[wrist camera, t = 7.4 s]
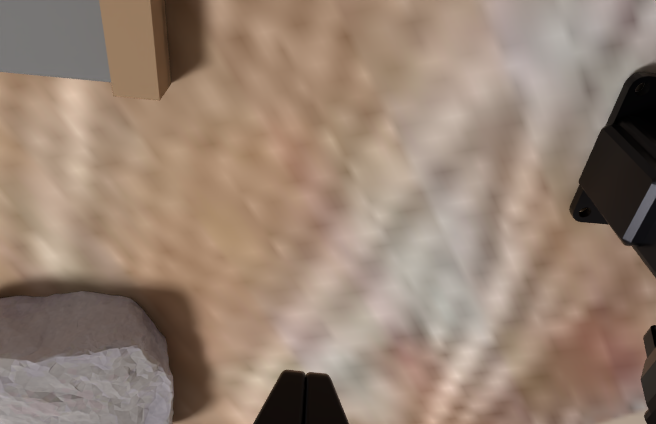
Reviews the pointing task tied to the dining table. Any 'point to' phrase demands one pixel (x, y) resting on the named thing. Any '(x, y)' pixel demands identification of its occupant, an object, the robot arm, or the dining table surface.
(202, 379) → the dining table surface
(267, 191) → the dining table surface
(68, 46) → the mat
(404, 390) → the dining table surface
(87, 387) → the stone block
